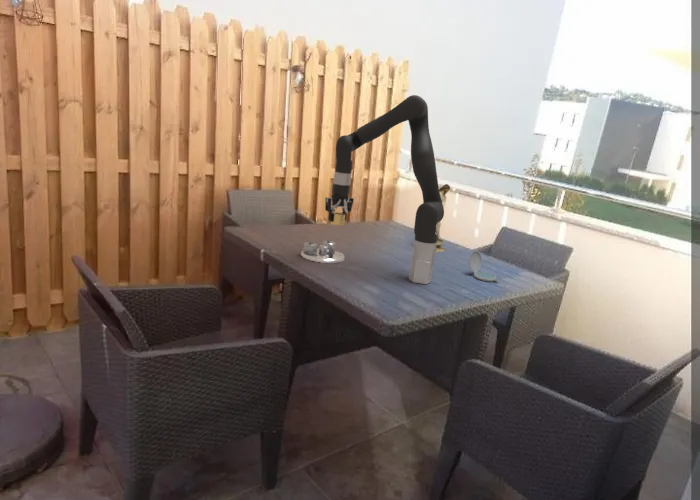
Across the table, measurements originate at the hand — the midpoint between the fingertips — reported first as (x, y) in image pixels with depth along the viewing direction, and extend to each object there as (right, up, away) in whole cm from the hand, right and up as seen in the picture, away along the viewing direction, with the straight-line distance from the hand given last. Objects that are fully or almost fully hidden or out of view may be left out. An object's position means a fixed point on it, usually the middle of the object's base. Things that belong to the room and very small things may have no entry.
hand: (337, 220), depth 206 cm
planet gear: (0, -1, 0) cm, 1 cm away
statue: (+49, -12, +50) cm, 71 cm away
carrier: (-7, -16, +10) cm, 20 cm away
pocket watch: (+66, -26, +5) cm, 71 cm away
